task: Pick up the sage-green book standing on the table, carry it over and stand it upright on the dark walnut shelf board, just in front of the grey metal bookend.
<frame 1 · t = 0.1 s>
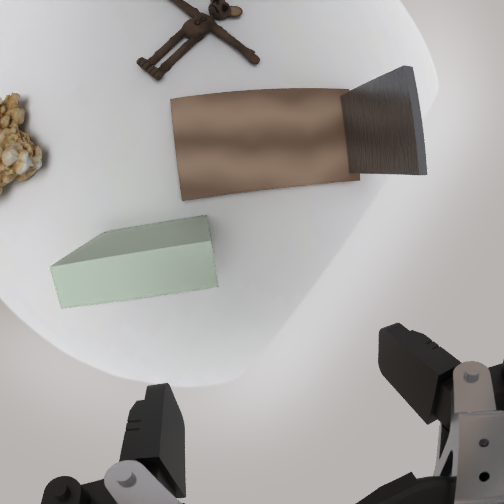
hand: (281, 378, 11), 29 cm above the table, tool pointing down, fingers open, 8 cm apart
grey metal bookend: (341, 135, 38), resting on walnut shelf board
wooden monkey figure: (190, 38, 33), on the table
walnut shelf board: (267, 139, 37), on the table
mineral formation: (2, 155, 31), on the table
sage book: (155, 237, 37), on the table
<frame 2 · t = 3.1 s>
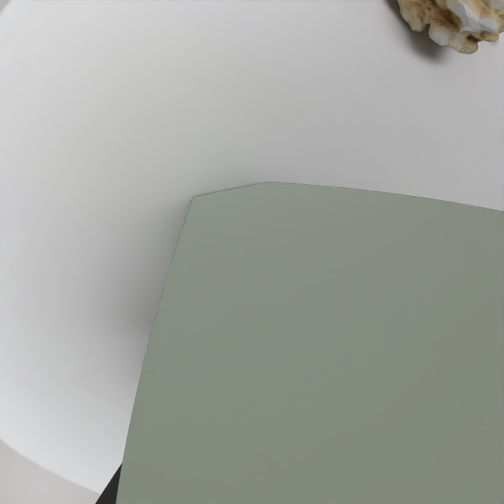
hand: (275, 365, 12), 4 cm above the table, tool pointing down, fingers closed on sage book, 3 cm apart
sage book: (256, 319, 16), on the table, touching gripper
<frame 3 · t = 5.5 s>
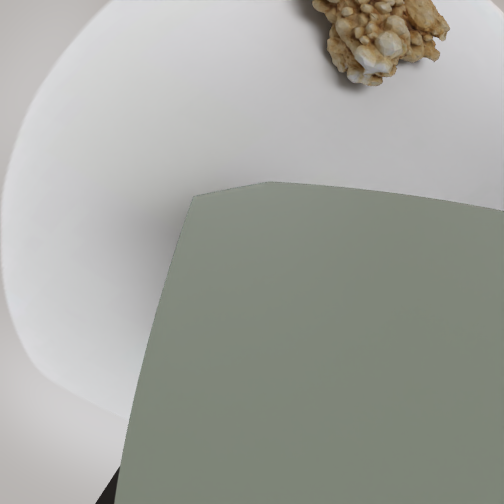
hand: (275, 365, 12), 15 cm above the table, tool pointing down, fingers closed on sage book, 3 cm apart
mineral formation: (353, 16, 23), on the table
sage book: (256, 318, 16), point 11 cm above the table, touching gripper
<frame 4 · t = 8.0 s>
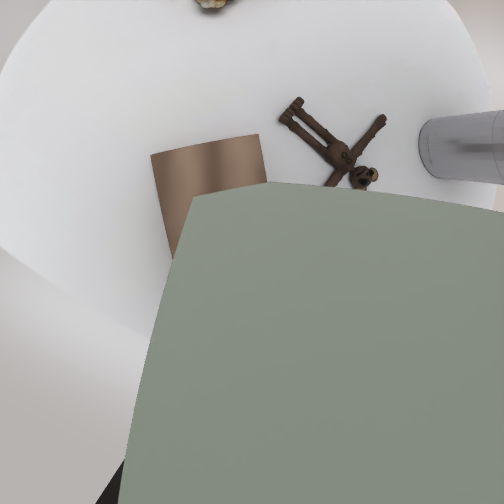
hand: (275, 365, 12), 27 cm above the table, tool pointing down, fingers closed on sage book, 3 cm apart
wooden monkey figure: (327, 150, 37), on the table
walnut shelf board: (221, 237, 37), on the table
sage book: (256, 319, 16), point 22 cm above the table, touching gripper
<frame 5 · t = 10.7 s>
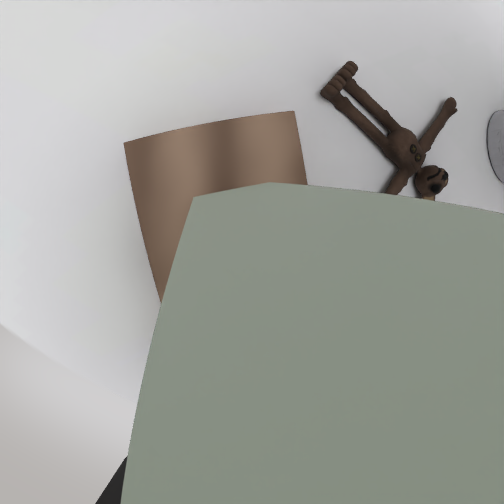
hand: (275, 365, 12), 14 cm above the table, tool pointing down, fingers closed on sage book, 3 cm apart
wooden monkey figure: (384, 141, 25), on the table
walnut shelf board: (236, 269, 25), on the table
sage book: (256, 319, 16), point 9 cm above the table, touching gripper
when the fingers open (8 cm above the table, at t = 12.7 s): sage book drops 1 cm, resting on walnut shelf board.
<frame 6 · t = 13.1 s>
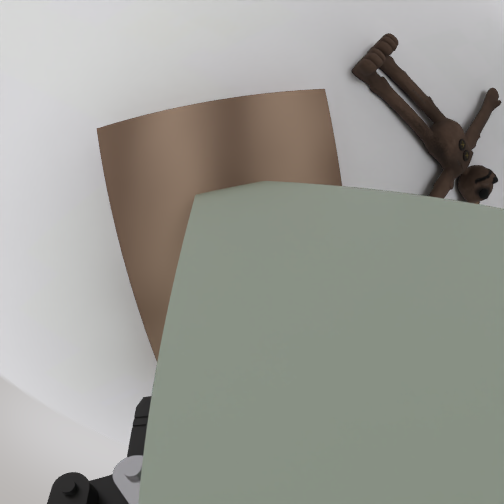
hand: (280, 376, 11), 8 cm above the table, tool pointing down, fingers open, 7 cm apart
wooden monkey figure: (424, 134, 19), on the table
walnut shelf board: (246, 294, 19), on the table
sage book: (253, 307, 17), point 2 cm above the table, touching walnut shelf board
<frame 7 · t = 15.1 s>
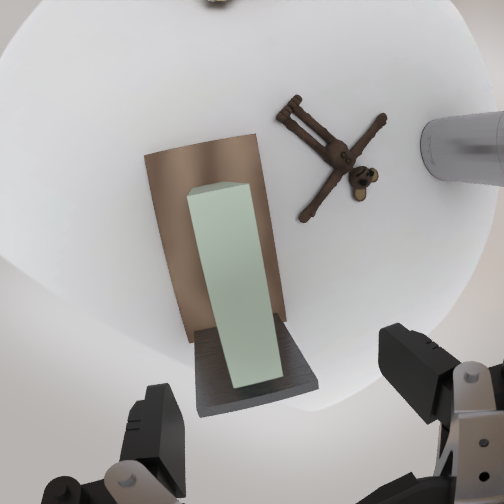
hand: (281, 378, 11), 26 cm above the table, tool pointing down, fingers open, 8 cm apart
grey metal bookend: (234, 318, 39), resting on walnut shelf board
wooden monkey figure: (325, 149, 36), on the table
walnut shelf board: (217, 240, 36), on the table
sage book: (220, 243, 34), point 2 cm above the table, touching walnut shelf board
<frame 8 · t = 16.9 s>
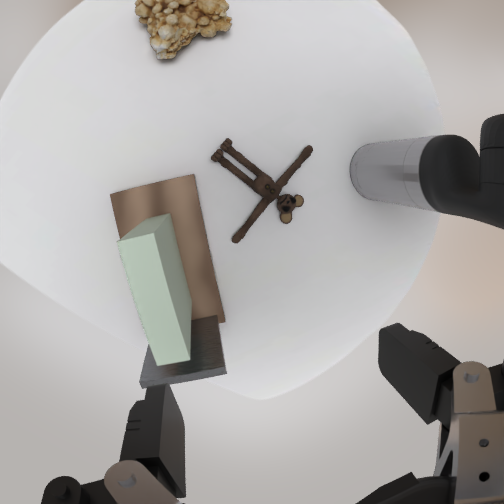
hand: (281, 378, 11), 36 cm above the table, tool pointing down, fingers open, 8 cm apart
grey metal bookend: (185, 318, 48), resting on walnut shelf board
wooden monkey figure: (256, 181, 45), on the table
walnut shelf board: (169, 257, 45), on the table
mineral formation: (178, 18, 37), on the table
sage book: (168, 261, 43), point 2 cm above the table, touching walnut shelf board
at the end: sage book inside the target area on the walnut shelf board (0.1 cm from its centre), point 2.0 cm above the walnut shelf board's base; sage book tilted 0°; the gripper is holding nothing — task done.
